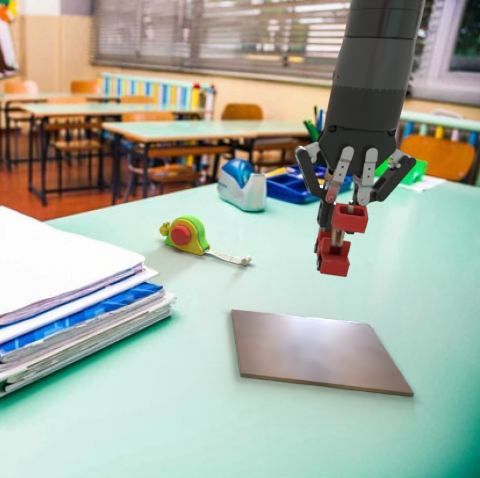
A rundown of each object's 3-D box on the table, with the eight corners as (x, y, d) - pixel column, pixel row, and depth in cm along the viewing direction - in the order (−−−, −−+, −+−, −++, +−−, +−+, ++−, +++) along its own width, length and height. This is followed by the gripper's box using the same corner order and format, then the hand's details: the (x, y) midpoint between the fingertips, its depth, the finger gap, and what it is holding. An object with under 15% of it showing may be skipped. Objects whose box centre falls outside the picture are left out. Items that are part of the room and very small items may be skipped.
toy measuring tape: (167, 235, 104) (169, 206, 102) (255, 260, 94) (260, 227, 92) (151, 244, 99) (153, 213, 97) (242, 271, 89) (247, 237, 87)
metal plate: (368, 326, 73) (369, 323, 72) (413, 396, 58) (414, 393, 58) (231, 311, 75) (231, 309, 75) (240, 376, 60) (241, 373, 60)
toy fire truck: (338, 251, 68) (354, 183, 64) (350, 294, 55) (370, 213, 52) (312, 247, 69) (326, 180, 65) (319, 289, 56) (337, 209, 53)
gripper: (311, 82, 51) (284, 237, 58) (453, 89, 50) (408, 247, 56) (297, 78, 58) (274, 217, 64) (421, 84, 57) (384, 226, 63)
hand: (337, 230), depth 60 cm, fingers closed on toy fire truck, 2 cm apart
